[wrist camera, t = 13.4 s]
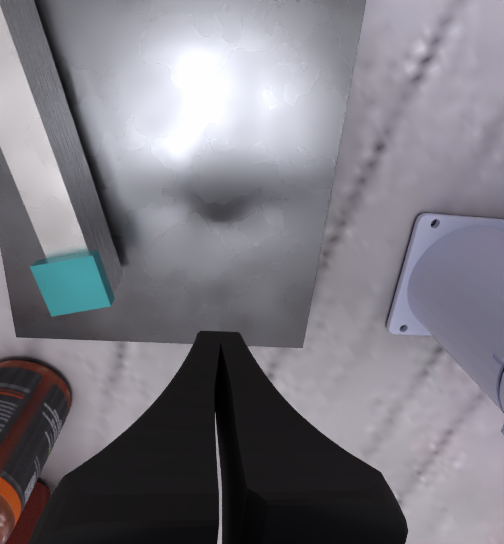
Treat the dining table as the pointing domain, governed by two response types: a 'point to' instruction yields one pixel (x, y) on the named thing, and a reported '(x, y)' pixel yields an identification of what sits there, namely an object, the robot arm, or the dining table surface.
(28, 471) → the supplement bottle
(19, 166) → the bar
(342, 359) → the dining table surface
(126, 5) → the tray
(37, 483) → the plant pot
